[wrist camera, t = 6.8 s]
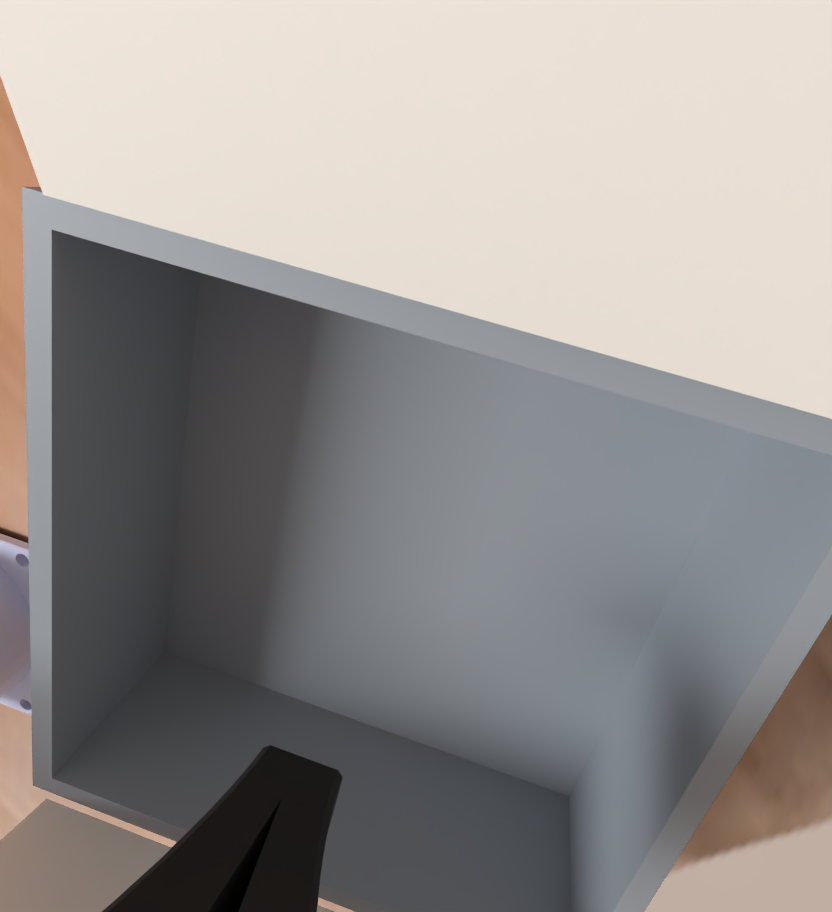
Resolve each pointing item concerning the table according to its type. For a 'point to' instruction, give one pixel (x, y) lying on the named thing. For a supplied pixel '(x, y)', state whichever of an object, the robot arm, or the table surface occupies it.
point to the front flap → (474, 158)
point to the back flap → (71, 862)
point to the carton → (398, 569)
